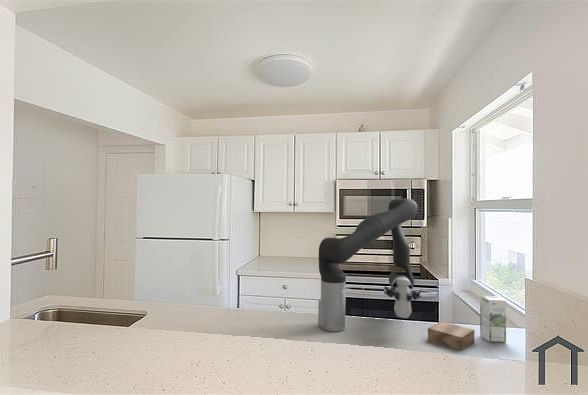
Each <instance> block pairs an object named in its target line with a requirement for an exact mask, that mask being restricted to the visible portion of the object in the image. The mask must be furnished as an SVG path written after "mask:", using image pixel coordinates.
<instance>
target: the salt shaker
mask: <svg viewBox="0 0 588 395" xmlns="http://www.w3.org/2000/svg"><path fill="white" fill-rule="evenodd" d="M397 285H399V287H398V293H399V300H397V299H396V298H395V301H394V307H393V309H394V312H395V315H396V316H397V317H398V318H402V319H408V318H410V316H411V314H412V310H413V309H412V304H411V300H410V301H408V293H409V291H408V286H409V285H410V281H409V280H408V279H406V278H398V279H397Z"/></svg>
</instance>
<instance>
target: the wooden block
mask: <svg viewBox="0 0 588 395" xmlns="http://www.w3.org/2000/svg"><path fill="white" fill-rule="evenodd" d="M427 341H430V342H433V343H437V344H439V345H443V346H446V347H450V348H452V349H455V350H460V351H463V350H465V349H467V348H468V347H469V346H471V345H473V343H475V329H472V328H468V327H464V326H462V325H456V324H452V323H449V322H446V321H440V322H437V323H436V324H434V325H431V326H430V327H427Z"/></svg>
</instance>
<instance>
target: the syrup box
mask: <svg viewBox="0 0 588 395" xmlns="http://www.w3.org/2000/svg"><path fill="white" fill-rule="evenodd" d="M479 301H480V302H479V303H480V305H479V307H480V308H479V309H480V310H479V312H480V314H479V316H480V317H479V318H480V323H479V324H480V326H479V328H480V335H479V336H480V337H481V338H482V339H484V340H485V341H487V342H489V343H502V342H506V343H507V301H506V299H504V298H502V297H501V296H496V295H495V296H494V295H480V297H479Z"/></svg>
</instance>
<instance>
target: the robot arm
mask: <svg viewBox="0 0 588 395" xmlns="http://www.w3.org/2000/svg"><path fill="white" fill-rule="evenodd" d="M417 213H418V203H416V201H415V200H414V199H412V198H395V199H392V200H390V202H389V203H388V209H387V210H385V211H382V212H378V213H375V214H372V215H370V216H369V217H366V218H365V219H363V220H361V221H360V222H359V223H358V225H357V227H356V229H355V230H354V231H353V232H352V233H350V234H349V235H348V234H347V235H346V236H344V237H341V238H338V237H337V238H336V237H325V238H323V239H322V240H321V241H320V243H319V246H318V272H319V275H320V299H319V300H318V307H317V308H318V311H317V313H318V316H317V317H318V318H317V319H318V320H317V326H318V327H320V329H321V330H324V331H327V332H334V333H335V332H343V331H344V330H345V329H346V294H347V293H346V281H347V280H346V279H347V278H346V273H345V272H344V271H343V270H342V269H341V268H340V266H339V265H340V264H344V263H345V262H347V261H348V260H350V259H351V258H352V257H353V256H354V255H355V254H357V253H359V251H361V250H362V249H363V248H364V247H367V246H369V245H370V244H371V243H373V242H375V241H376V240H378V239H379V238H380V237H383V236H384V235H385V234H387V233H388V232H389V231H391V238H392V263H393V266H395V267H398V268H401V269H402V270H404V272H403V271H392V272H390V274H389V276H388V282H389V286H390V287H391V288H390V287H388V286H386V285H385V286H383V294H385V295H386V296H388V297H390V298H394V299H395V300H396V299H397V300H399V293H398V287H399V285H397V279H398V278H406V279H408V280H409V281H410V285H409V286H408V291H409V293H408V301H410V302H411V301H412V300H416V301H417V300H419V299H421V298H422V296H423V293H422V292H423V291H422V290H421V289H416V290H415V289H414V285H415V278H414V275H413V271H412V268H411V259H410V258H411V256H410V255H411V252H410V246H409V242H408V240H407V238H406V236H405V233H404V231H403V228H402V224H404V223H405V222H408V221H410V220H413V218H415V216H416V214H417Z"/></svg>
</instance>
